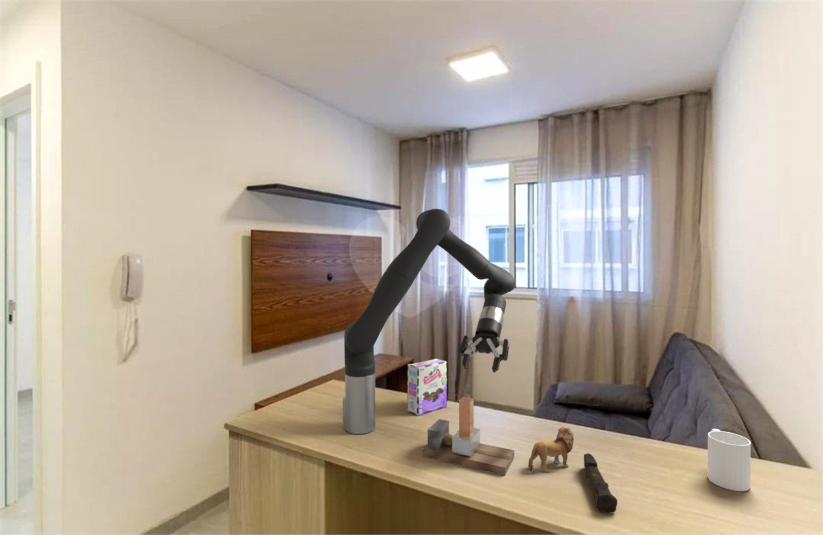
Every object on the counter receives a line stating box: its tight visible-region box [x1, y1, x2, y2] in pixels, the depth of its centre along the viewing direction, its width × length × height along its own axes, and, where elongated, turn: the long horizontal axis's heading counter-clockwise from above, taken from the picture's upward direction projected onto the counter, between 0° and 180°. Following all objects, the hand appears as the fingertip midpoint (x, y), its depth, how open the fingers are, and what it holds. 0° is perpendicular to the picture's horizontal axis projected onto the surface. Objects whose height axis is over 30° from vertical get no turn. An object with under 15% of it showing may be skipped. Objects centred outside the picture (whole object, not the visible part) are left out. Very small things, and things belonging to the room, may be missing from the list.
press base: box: [422, 418, 515, 477], centre depth 108 cm, size 22×10×7 cm, turn 63°
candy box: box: [406, 358, 448, 416], centre depth 143 cm, size 14×6×16 cm, turn 129°
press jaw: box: [452, 396, 481, 457], centre depth 108 cm, size 5×8×13 cm, turn 153°
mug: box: [707, 428, 752, 492], centre depth 97 cm, size 12×8×10 cm, turn 164°
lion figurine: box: [527, 425, 575, 474], centre depth 103 cm, size 15×5×9 cm, turn 119°
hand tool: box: [583, 453, 618, 514], centre depth 93 cm, size 19×4×5 cm, turn 166°
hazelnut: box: [444, 433, 454, 446], centre depth 110 cm, size 3×3×3 cm
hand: (479, 369), depth 118 cm, fingers open, 8 cm apart
